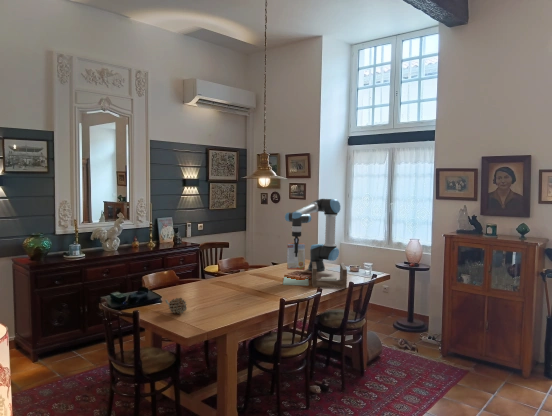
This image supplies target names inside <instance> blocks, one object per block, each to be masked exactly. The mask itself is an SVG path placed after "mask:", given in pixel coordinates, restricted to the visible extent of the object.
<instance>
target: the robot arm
mask: <svg viewBox="0 0 552 416" xmlns="http://www.w3.org/2000/svg"><path fill="white" fill-rule="evenodd" d="M340 210H341V203H340V201H339V200H338V199H333V198H319V199H316V200H314V201H312V202H310V203H309V204H307V205H305V206H304V207H301V208H299V209H297V210H294V211H292V212H286V213H285V215H284V220H285V221H286V222H289V223H291V227H290V228H291V231H292V232H291V236H292V237H294V238H293V243H294V244H295V252H294V253H295V255H294V261H298V244H299V243H300V239H299V237H302V230H303V229H302V224H308V223H310V222H311V221H312V216H311V214H312V213H317V212H320V213H321V212H323V215H324V216H325V233H324V234H325V237H324V238H325V239H324V243H317V244H311V245H310V249H309V250H310V252H309V253H310V254H309V255H310V256H309V257H310V260H309V263H308V266H307V269H308V271H311V272H312V262H316V267H317V272H322V271H324V272H325V270H326V267H325V263H324V260H326V261H330V262H331V261H333V262H335V261H336V260H337V259H338V257H339V254H340V249H339V248H338V247H337V244H336V221H337V220H336V218H337V216H338V213H340V212H341V211H340Z"/></svg>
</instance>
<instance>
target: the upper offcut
mask: <svg viewBox="0 0 552 416" xmlns="http://www.w3.org/2000/svg"><path fill="white" fill-rule="evenodd" d="M320 280H338V279H337V277H327V276H326V277H325V276H321V277H320Z"/></svg>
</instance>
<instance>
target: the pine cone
mask: <svg viewBox="0 0 552 416" xmlns="http://www.w3.org/2000/svg"><path fill="white" fill-rule="evenodd" d="M165 303H166V304H167V305H168V309H169V310H170V312H171V313H174V314H184V312H186V311H187V310H188V309H187V308H188V307H187V305H188V304H187V302H186V300H185V299H183V298H182V297H176V298H173V299H171V300H168V299H167V298H166V299H165Z"/></svg>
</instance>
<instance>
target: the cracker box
mask: <svg viewBox="0 0 552 416" xmlns="http://www.w3.org/2000/svg"><path fill="white" fill-rule="evenodd" d="M286 252H287V257H286V258H287V260H286V261H287V262H286V263H287V264H286V265H287V267H286V268H287V269H286V270H295V271H297V270H298V271H301V270H303V271H305V269H306V243H305V242H299V244H298V261H294V255H295V253H294V252H295V244H294V242H288V243H287V251H286Z"/></svg>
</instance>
